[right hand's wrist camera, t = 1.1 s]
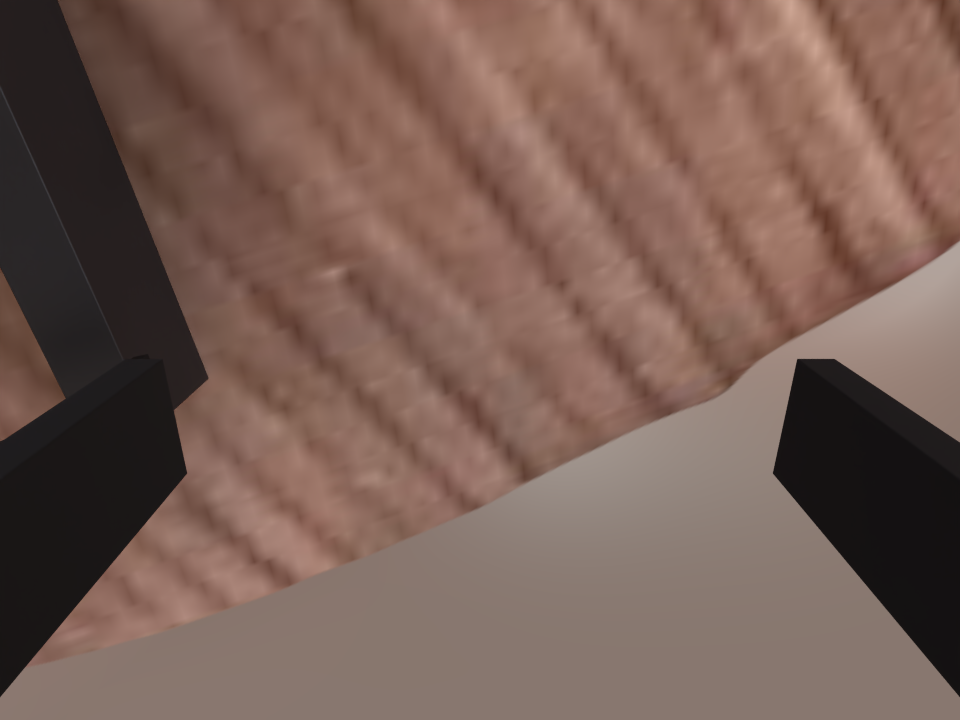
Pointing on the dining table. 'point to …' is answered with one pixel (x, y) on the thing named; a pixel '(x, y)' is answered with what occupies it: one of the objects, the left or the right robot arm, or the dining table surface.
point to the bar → (77, 217)
